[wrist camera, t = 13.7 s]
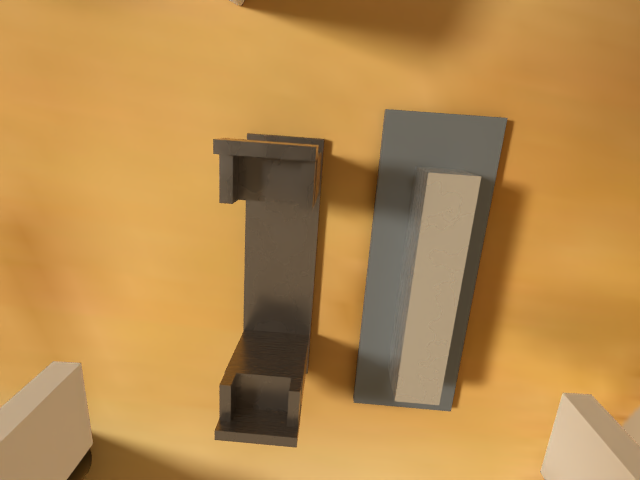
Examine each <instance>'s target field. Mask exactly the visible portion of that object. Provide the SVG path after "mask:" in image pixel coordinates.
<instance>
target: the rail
mask: <svg viewBox="0 0 640 480" xmlns="http://www.w3.org/2000/svg"><path fill="white" fill-rule="evenodd" d="M480 181H481V176H478V175H475V174H472V173H469V172H466V171H463V170H458V169H445V168H432V167H419V166H416V167H415V174H414V182H413V189H412V196H411V203H410V211H409V218H408V225H407V233H406V240H405V247H404V254H403V262H402V269H401V276H400V283H399V291H398V298H397V305H396V313H395V320H394V327H393V334H392V342H391V349H390V356H389V364H388V371H389V376H390V381H391V385H392V390H393V395H394V400H395V401H397V402H408V403H419V404H430V405H439V404H440V398H441V393H442V387H443V382H444V376H445V371H446V366H447V360H448V355H449V349H450V344H451V339H452V333H453V328H454V322H455V317H456V311H457V306H458V301H459V295H460V290H461V284H462V279H463V274H464V268H465V263H466V257H467V252H468V246H469V241H470V236H471V230H472V225H473V219H474V214H475V208H476V203H477V198H478V192H479V187H480Z"/></svg>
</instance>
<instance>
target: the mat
mask: <svg viewBox="0 0 640 480" xmlns="http://www.w3.org/2000/svg"><path fill="white" fill-rule="evenodd" d="M506 123H507V118H500V117H486V116H472V115H458V114H444V113H430V112H416V111H403V110H389V109H386V110H385V115H384V124H383V133H382V142H381V151H380V160H379V170H378V179H377V188H376V197H375V206H374V215H373V224H372V233H371V242H370V251H369V260H368V269H367V278H366V287H365V296H364V305H363V314H362V324H361V333H360V342H359V351H358V360H357V369H356V378H355V387H354V396H353V399H354V403H364V404H375V405H386V406H397V407H409V408H420V409H431V410H442V411H451V408H452V402H453V397H454V392H455V387H456V382H457V377H458V371H459V366H460V361H461V356H462V351H463V345H464V340H465V335H466V330H467V325H468V320H469V314H470V309H471V304H472V299H473V294H474V289H475V283H476V278H477V273H478V268H479V263H480V258H481V252H482V247H483V242H484V237H485V232H486V226H487V221H488V216H489V211H490V206H491V201H492V195H493V190H494V185H495V180H496V175H497V170H498V164H499V159H500V154H501V149H502V144H503V139H504V133H505V128H506ZM416 166H419V167H432V168H445V169H458V170H463V171H466V172H469V173H472V174H475V175H478V176H481V181H480V187H479V192H478V198H477V203H476V208H475V214H474V219H473V225H472V230H471V236H470V241H469V246H468V252H467V257H466V263H465V268H464V274H463V279H462V284H461V290H460V295H459V301H458V306H457V311H456V317H455V322H454V328H453V333H452V339H451V344H450V349H449V355H448V360H447V366H446V371H445V376H444V382H443V387H442V393H441V398H440V404H439V405H430V404H419V403H408V402H397V401H395V400H394V395H393V390H392V385H391V381H390V376H389V371H388V364H389V356H390V349H391V342H392V334H393V327H394V320H395V313H396V305H397V298H398V291H399V283H400V276H401V269H402V262H403V254H404V247H405V240H406V233H407V225H408V218H409V211H410V203H411V196H412V189H413V182H414V174H415V167H416Z"/></svg>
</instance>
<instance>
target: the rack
mask: <svg viewBox="0 0 640 480" xmlns="http://www.w3.org/2000/svg"><path fill="white" fill-rule="evenodd" d="M323 151H324V139H317V138H304V137H290V136H277V135H263V134H250V133H248V134H247V140H244V139H230V138H222V139H213V154H219V174H220V203H229V204H233V203H234V202H236V201H237V200H246V224H245V278H244V332H243V334H242V336H241V338H240V341H239V343H238V345H237V347H236V349H235V351H234V353H233V356H232V358H231V360H230V362H229V364H228V366H227V368H226V371H225V374H224V376H223V379H222V381H221V383H220V419H219V421H218V424H217V426H216V429H215V440H222V441H233V442H244V443H255V444H265V445H276V446H287V447H297V440H298V433H299V425H300V413H301V406H302V398H303V391H304V383H305V376H306V374H307V373H308V362H309V348H310V334H311V319H312V305H313V291H314V277H315V263H316V249H317V235H318V221H319V207H320V193H321V179H322V165H323Z"/></svg>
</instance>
